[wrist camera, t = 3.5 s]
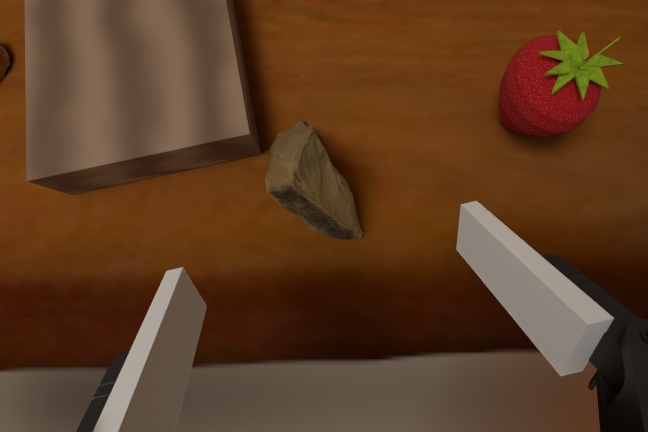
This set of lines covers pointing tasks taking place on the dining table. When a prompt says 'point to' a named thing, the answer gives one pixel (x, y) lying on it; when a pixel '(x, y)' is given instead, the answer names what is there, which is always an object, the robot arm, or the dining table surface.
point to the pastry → (3, 61)
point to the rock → (311, 183)
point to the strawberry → (552, 85)
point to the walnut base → (133, 90)
